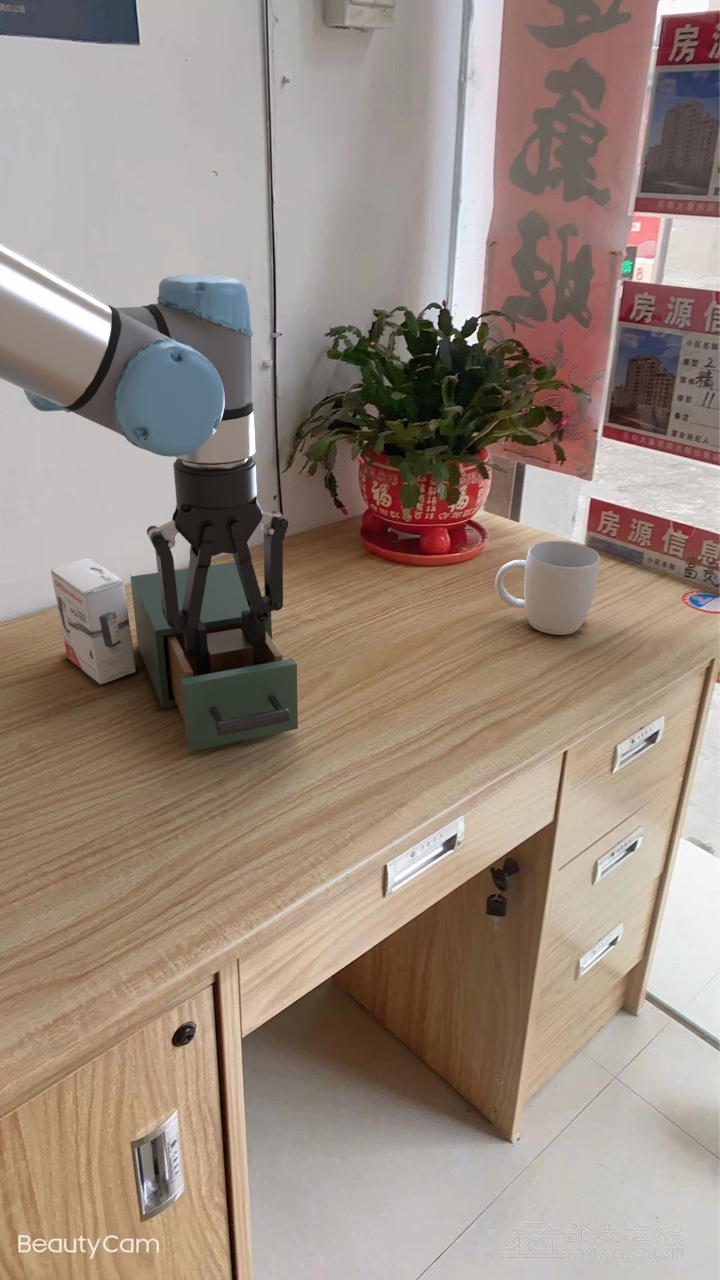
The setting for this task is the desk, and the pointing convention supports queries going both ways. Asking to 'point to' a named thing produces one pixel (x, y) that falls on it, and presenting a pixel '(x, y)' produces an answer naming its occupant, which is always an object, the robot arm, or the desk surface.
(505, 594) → the mug
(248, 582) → the robot arm
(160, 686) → the cabinet
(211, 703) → the drawer
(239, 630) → the block
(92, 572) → the ink box
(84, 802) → the desk surface
